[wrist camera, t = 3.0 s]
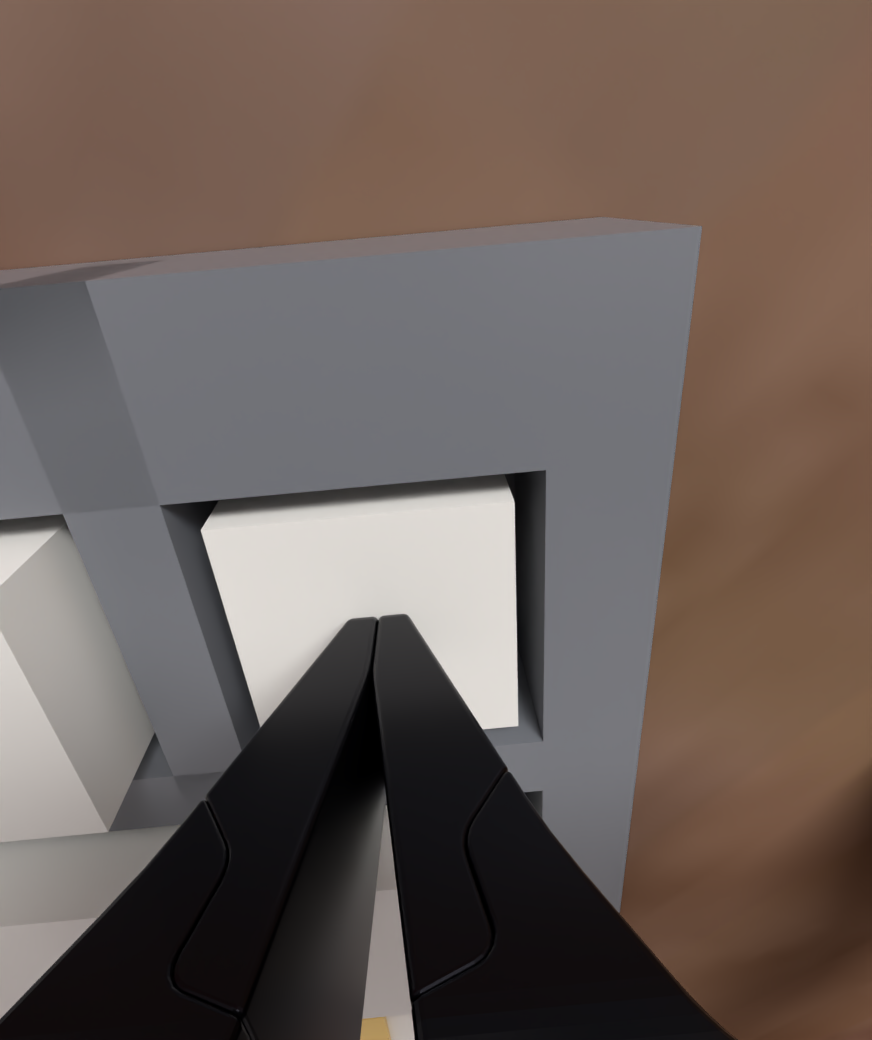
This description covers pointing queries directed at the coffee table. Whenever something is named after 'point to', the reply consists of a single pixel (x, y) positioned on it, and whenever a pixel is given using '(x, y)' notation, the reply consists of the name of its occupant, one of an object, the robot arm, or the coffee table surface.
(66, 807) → the button
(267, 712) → the button
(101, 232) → the coffee table surface
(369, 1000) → the button
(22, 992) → the button
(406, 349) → the panel
